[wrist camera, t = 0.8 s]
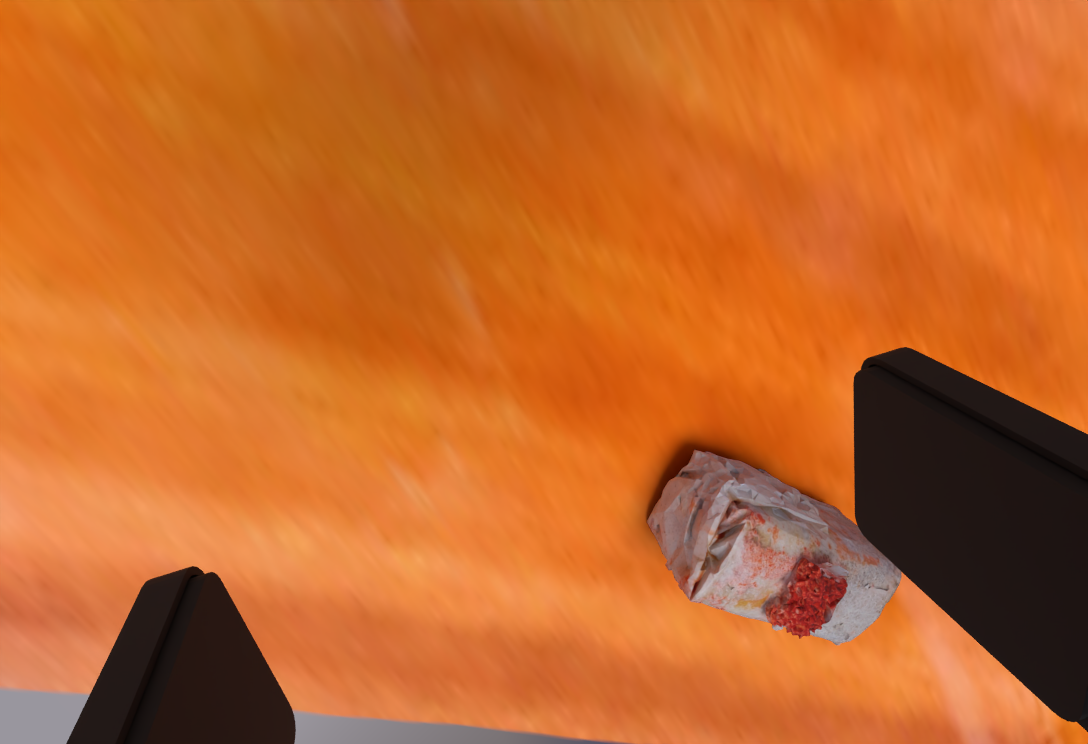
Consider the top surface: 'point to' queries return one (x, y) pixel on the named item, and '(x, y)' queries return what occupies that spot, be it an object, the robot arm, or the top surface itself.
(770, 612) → the food item
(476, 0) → the top surface
